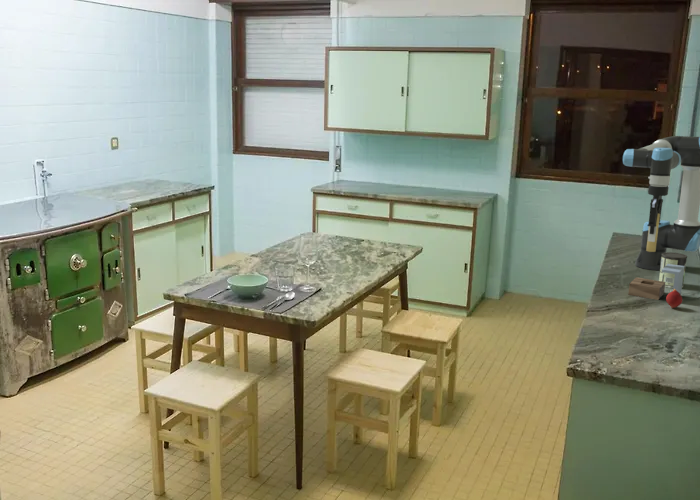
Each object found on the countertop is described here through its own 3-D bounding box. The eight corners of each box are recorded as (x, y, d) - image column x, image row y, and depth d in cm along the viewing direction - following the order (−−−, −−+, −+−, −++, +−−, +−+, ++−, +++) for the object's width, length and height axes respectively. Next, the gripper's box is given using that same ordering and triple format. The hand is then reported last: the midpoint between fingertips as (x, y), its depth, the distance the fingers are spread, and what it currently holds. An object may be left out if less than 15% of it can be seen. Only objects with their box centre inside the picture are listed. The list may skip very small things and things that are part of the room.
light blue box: (664, 293, 285) (667, 263, 282) (680, 295, 281) (684, 266, 278) (658, 299, 275) (662, 269, 272) (675, 302, 272) (679, 272, 268)
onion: (680, 306, 267) (682, 287, 265) (682, 311, 261) (684, 291, 259) (664, 305, 268) (666, 286, 267) (665, 309, 263) (668, 290, 261)
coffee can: (679, 282, 301) (683, 252, 297) (686, 289, 291) (690, 258, 287) (655, 281, 303) (659, 251, 299) (661, 287, 293) (665, 257, 289)
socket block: (634, 288, 291) (635, 277, 290) (664, 293, 285) (665, 281, 284) (628, 294, 282) (629, 283, 281) (658, 299, 275) (659, 288, 274)
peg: (656, 250, 279) (660, 213, 276) (654, 252, 276) (658, 214, 273) (647, 249, 281) (651, 212, 278) (645, 251, 278) (649, 213, 275)
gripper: (653, 182, 281) (647, 236, 286) (644, 186, 268) (638, 242, 273) (672, 184, 277) (665, 238, 282) (664, 188, 264) (657, 245, 269)
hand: (652, 240), depth 278 cm, fingers closed on peg, 3 cm apart
